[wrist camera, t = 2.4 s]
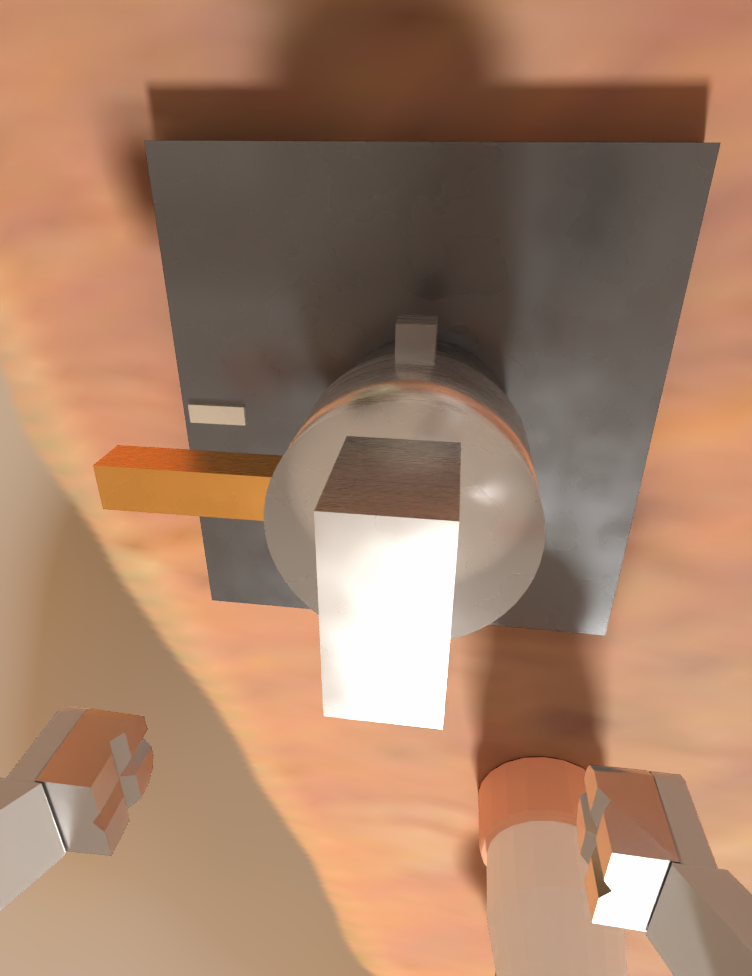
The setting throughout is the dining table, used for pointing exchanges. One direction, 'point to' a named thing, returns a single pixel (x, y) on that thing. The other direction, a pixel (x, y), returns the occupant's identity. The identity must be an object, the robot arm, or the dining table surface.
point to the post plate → (436, 313)
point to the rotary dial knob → (376, 518)
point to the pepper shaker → (541, 875)
